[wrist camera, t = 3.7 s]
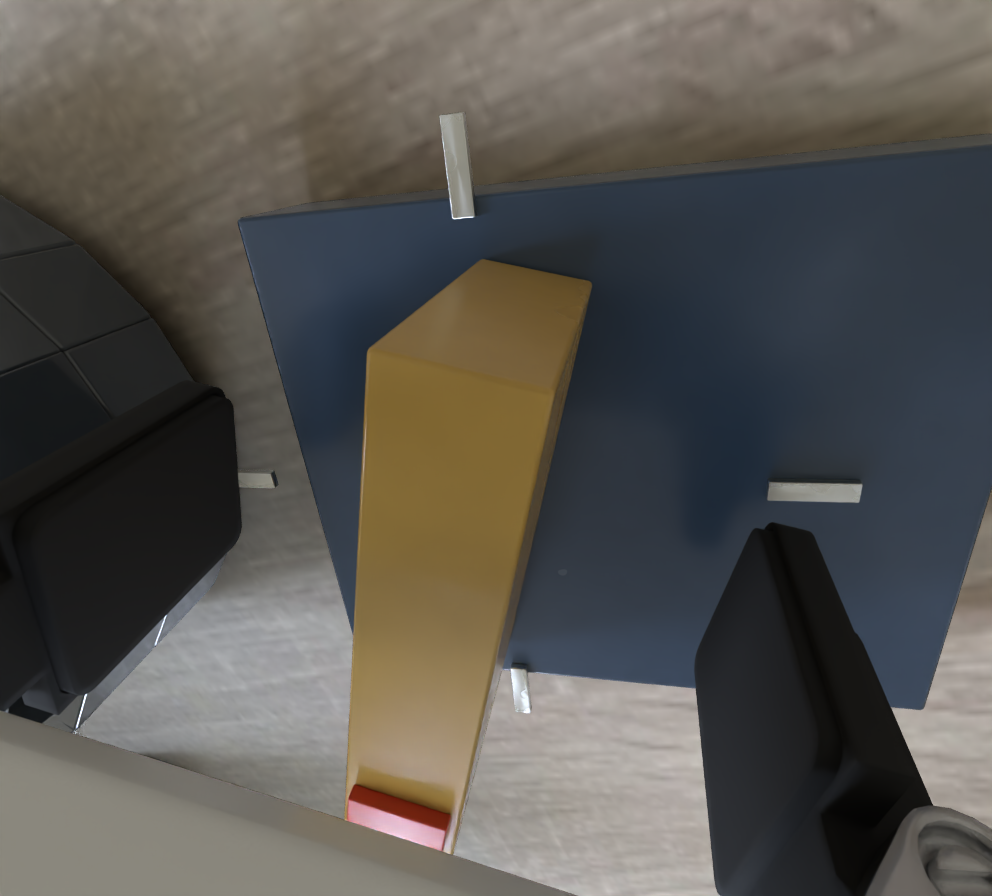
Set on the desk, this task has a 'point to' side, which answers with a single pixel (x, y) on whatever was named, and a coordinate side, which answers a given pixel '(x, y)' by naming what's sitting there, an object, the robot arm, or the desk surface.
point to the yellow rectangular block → (449, 532)
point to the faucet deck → (689, 383)
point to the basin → (73, 381)
